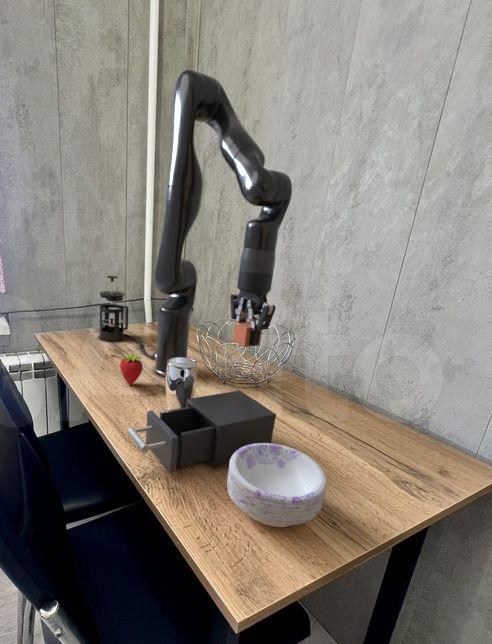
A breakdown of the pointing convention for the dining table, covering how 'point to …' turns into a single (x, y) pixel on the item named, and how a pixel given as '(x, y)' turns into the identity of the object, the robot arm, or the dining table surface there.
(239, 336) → the block
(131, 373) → the strawberry
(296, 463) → the paper bowls
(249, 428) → the cabinet
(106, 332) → the french press
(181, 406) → the beer glass
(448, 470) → the dining table surface
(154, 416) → the drawer
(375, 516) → the dining table surface
